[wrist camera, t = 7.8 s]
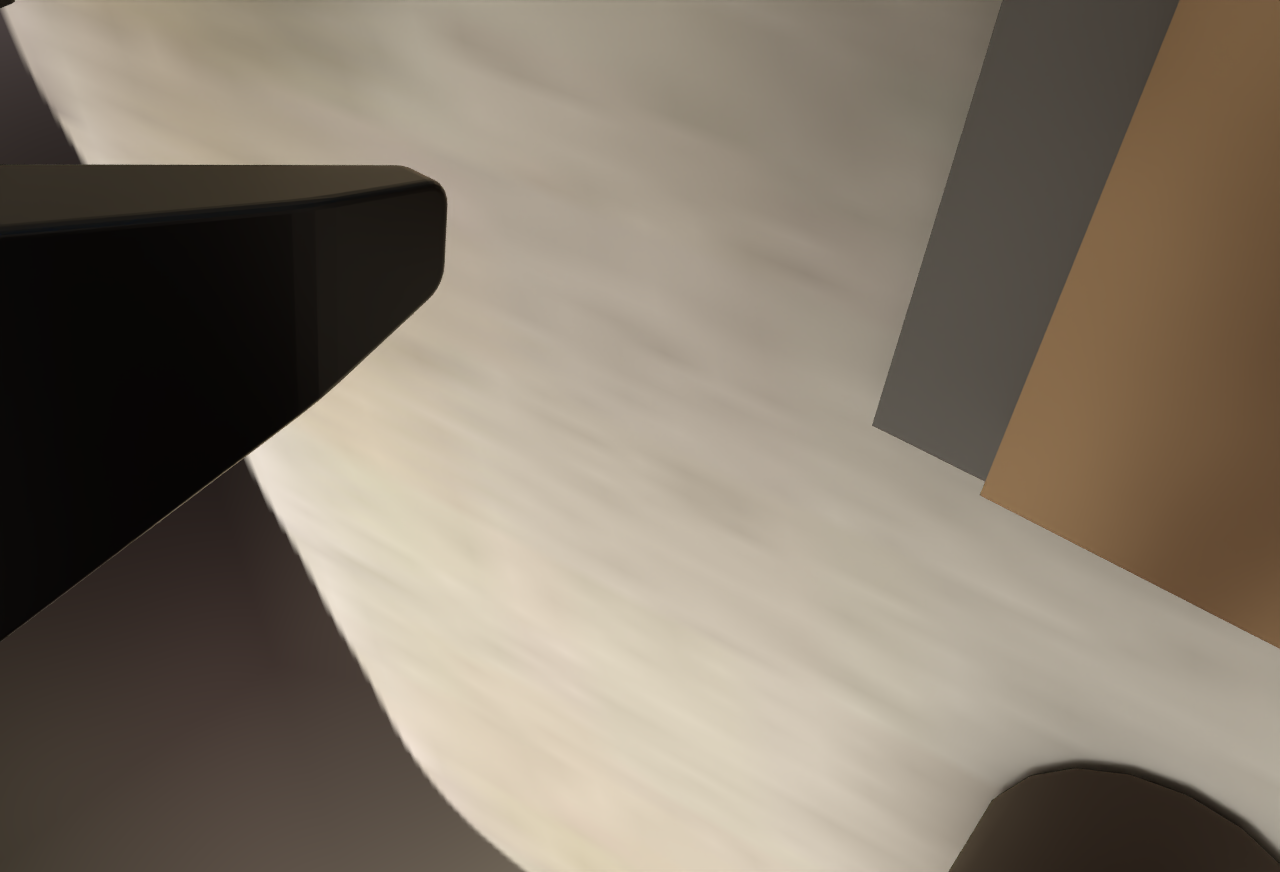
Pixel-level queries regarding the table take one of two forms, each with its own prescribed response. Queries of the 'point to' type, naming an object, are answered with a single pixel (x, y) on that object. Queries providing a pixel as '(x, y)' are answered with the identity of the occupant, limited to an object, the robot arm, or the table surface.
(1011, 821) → the bottle
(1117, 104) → the rubber mat
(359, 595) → the table surface
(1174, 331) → the walnut lid
